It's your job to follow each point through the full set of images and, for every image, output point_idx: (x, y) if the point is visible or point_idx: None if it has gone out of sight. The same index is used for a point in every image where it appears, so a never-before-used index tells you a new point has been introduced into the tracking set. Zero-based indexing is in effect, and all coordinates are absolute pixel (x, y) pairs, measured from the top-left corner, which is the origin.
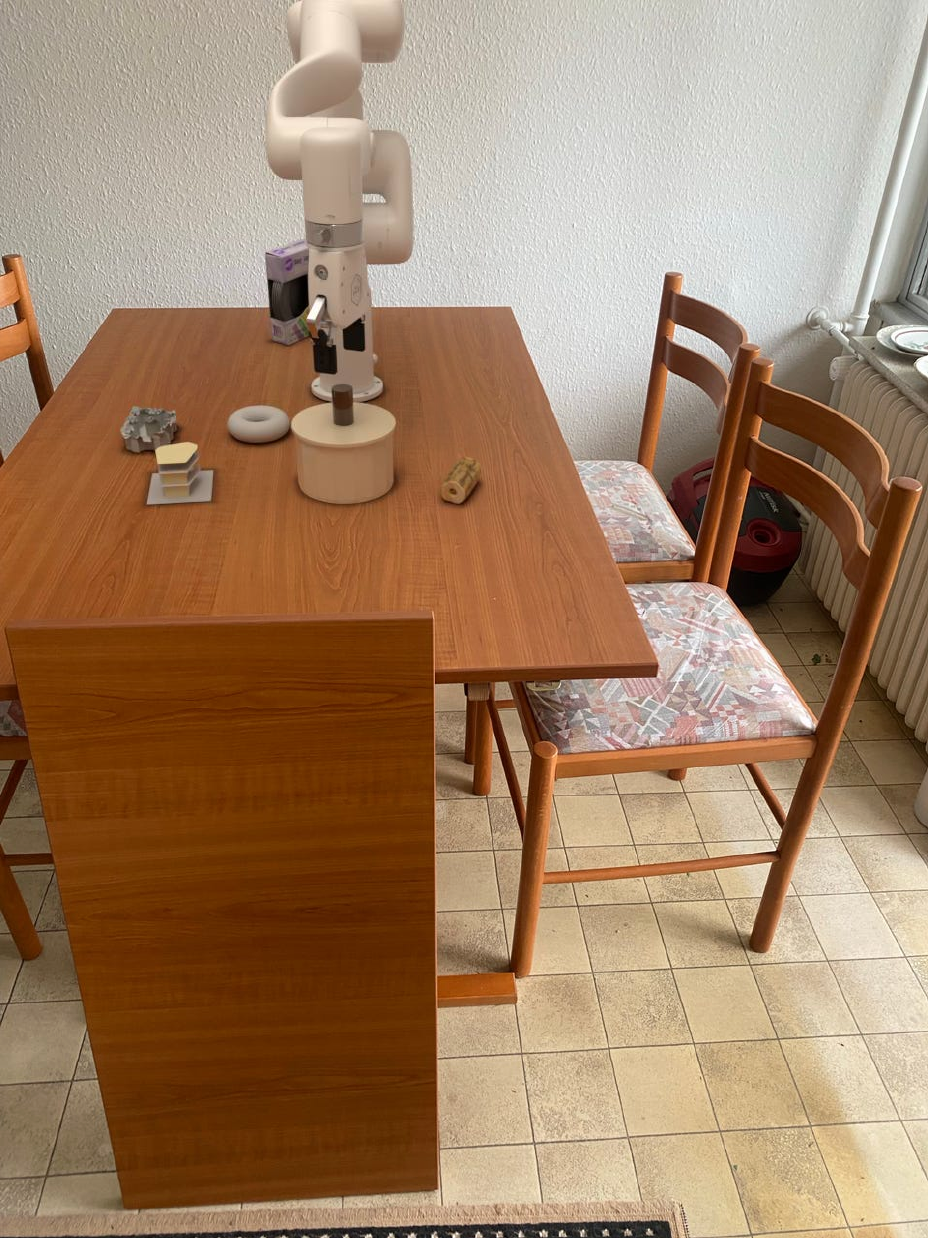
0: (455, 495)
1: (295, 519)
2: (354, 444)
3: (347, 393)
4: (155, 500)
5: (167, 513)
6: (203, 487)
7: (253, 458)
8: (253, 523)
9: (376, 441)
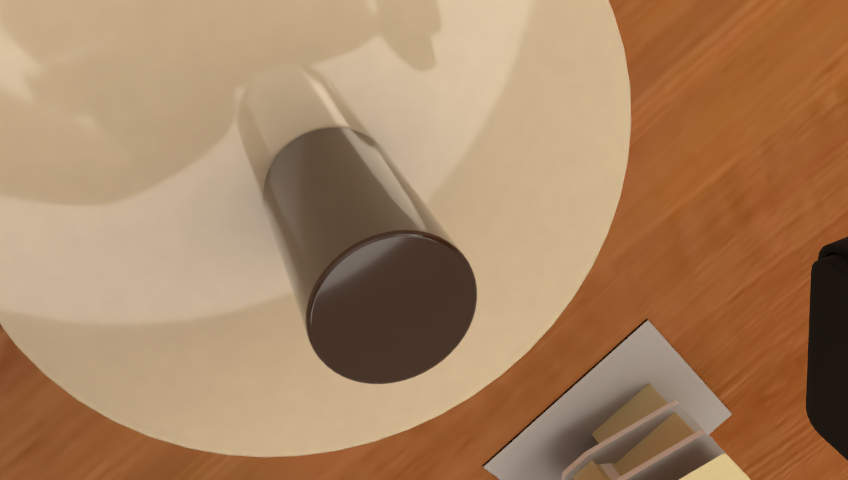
0: None
1: (633, 17)
2: None
3: (423, 223)
4: (705, 417)
5: (749, 343)
6: (588, 398)
7: (338, 460)
8: (711, 115)
9: None
